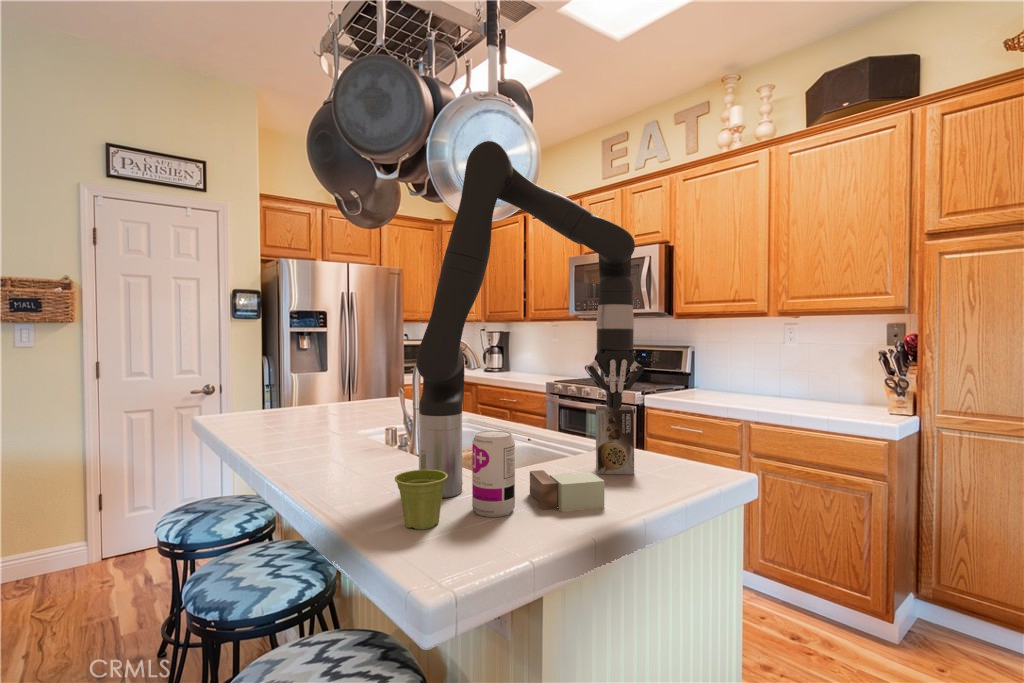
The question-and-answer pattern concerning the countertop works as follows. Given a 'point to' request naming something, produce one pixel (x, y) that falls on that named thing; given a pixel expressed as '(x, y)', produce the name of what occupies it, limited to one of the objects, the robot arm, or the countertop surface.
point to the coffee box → (614, 440)
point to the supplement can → (493, 473)
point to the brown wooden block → (543, 489)
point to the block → (579, 491)
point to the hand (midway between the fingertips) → (614, 410)
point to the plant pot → (421, 497)
